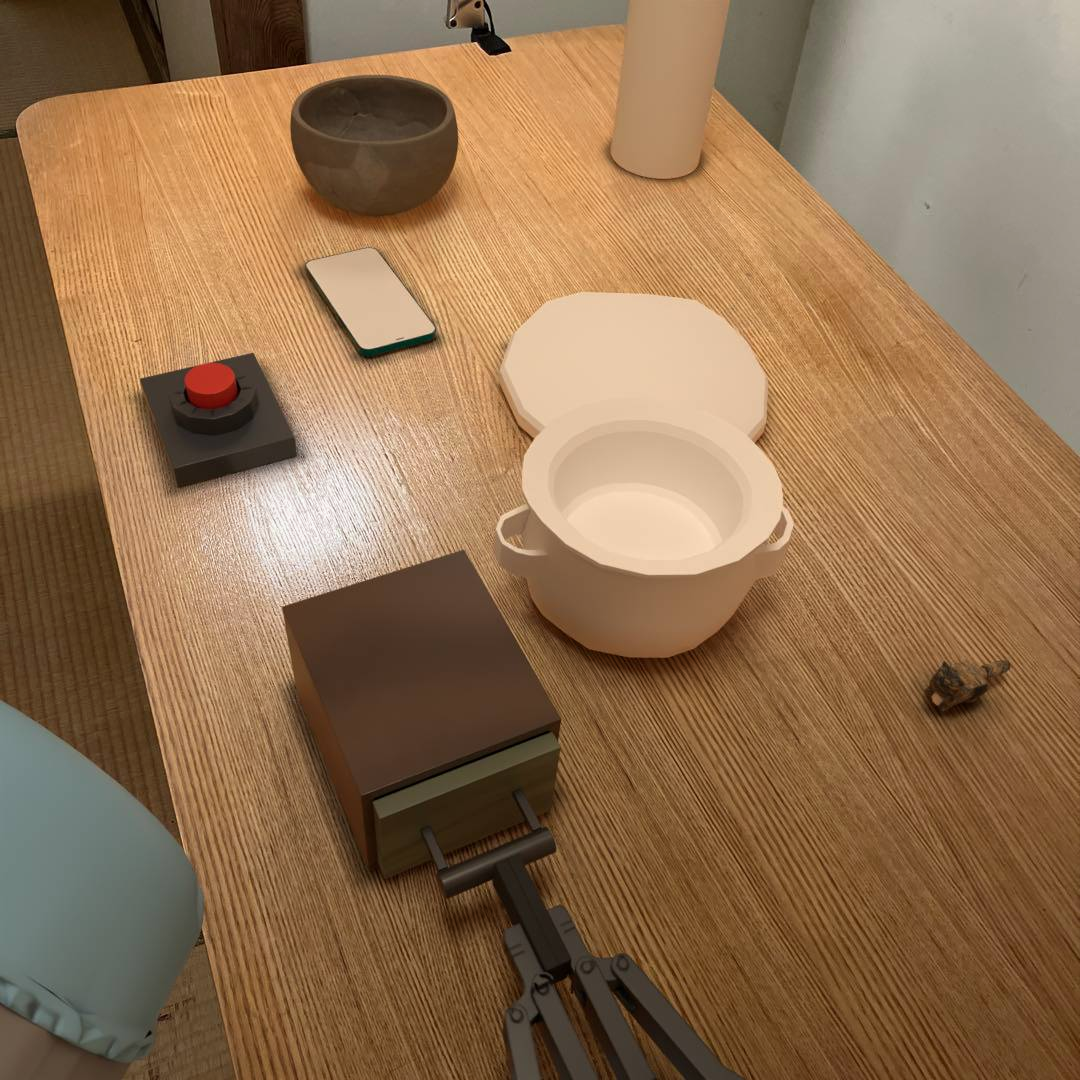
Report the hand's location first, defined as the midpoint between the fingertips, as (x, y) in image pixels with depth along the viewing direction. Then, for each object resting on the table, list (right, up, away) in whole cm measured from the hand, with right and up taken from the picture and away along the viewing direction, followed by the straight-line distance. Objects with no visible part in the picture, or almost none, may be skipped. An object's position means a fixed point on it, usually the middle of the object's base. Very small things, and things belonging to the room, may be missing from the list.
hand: (505, 869), depth 61 cm
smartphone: (-15, +42, +45) cm, 63 cm away
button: (-25, +31, +29) cm, 49 cm away
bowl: (-16, +57, +59) cm, 83 cm away
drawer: (-4, +3, +9) cm, 11 cm away
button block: (-26, +28, +32) cm, 50 cm away
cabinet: (-6, +5, +12) cm, 15 cm away
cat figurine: (+33, +7, +19) cm, 39 cm away
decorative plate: (+10, +32, +39) cm, 52 cm away
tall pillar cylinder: (+16, +65, +69) cm, 96 cm away
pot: (+9, +14, +23) cm, 29 cm away
